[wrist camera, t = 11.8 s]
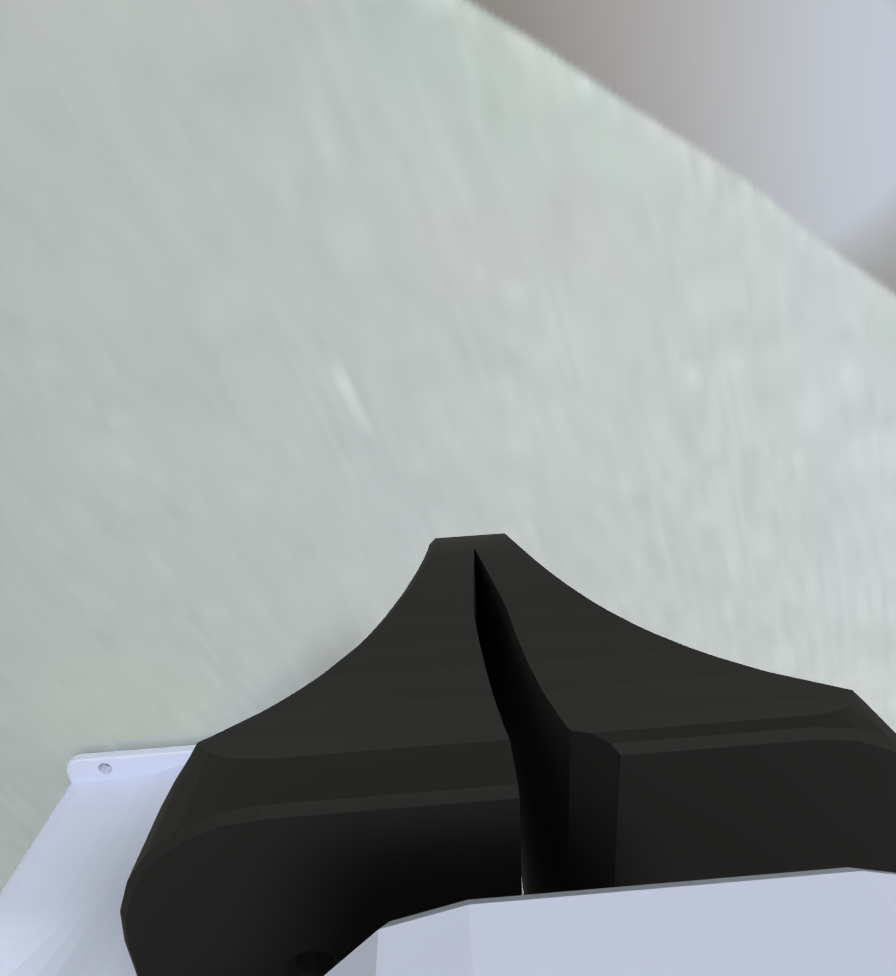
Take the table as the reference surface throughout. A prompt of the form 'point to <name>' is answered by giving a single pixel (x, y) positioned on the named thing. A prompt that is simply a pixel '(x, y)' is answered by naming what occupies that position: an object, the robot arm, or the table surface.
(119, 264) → the table surface
